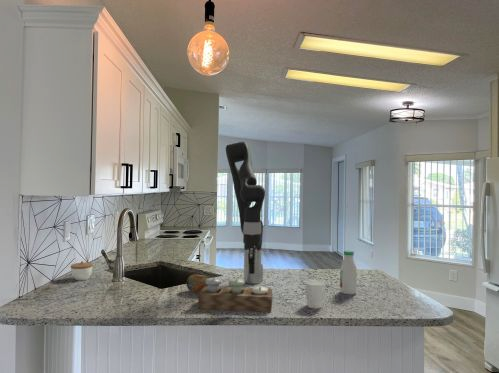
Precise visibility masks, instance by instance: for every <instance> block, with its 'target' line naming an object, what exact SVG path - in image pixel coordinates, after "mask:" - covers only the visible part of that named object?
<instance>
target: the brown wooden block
mask: <svg viewBox="0 0 499 373" xmlns="http://www.w3.org/2000/svg"><path fill="white" fill-rule="evenodd" d="M252 288H253V287H242V294H234V293H231V286H219V293H208V286H205V287H204V288H203V289H202V290H201V292H200V293H197V294H198V296H197V297H198V300H197V301H198V304H197V305H198V306H197V307H198V309H199V310H213V311H214V310H217V311H220V310H221V311H241V312H259V313H260V312H264V313H267V312H268V313H272V306H273V288H268V293H266V295H260V294H254V293H252Z"/></svg>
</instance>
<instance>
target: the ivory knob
mask: <svg viewBox="0 0 499 373" xmlns="http://www.w3.org/2000/svg"><path fill="white" fill-rule="evenodd" d="M251 288H252V293H254V294H260V295H266V293H268V289H269V288H268V287H266V286H253V287H251Z"/></svg>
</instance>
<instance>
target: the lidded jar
mask: <svg viewBox="0 0 499 373" xmlns="http://www.w3.org/2000/svg"><path fill="white" fill-rule="evenodd" d="M93 265H94V264H93V263H92V262H84V261H82V260H81V261H80V262H76V263H72V264H70V273H71V275H72V276H71V277H72V278H74V280H76V281H86V280H88V279H89V278H90V277H91V275H92V273H93V268H94V267H93Z"/></svg>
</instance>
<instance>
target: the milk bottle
mask: <svg viewBox="0 0 499 373" xmlns="http://www.w3.org/2000/svg"><path fill="white" fill-rule="evenodd" d="M354 254H355V253H354V251H353V250H349V249H348V250H343V260H342V262H341V264H340V270H339V271H340V272H339V292H340V293H341V294H344V295H350V296H351V295H352V296H353V295H356V294H357V289H358V286H357V285H358V284H357V283H358V282H357V281H358V279H357V277H358V275H357V274H358V272H357V270H358V268H357V265H356V263H355V260H354Z"/></svg>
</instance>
